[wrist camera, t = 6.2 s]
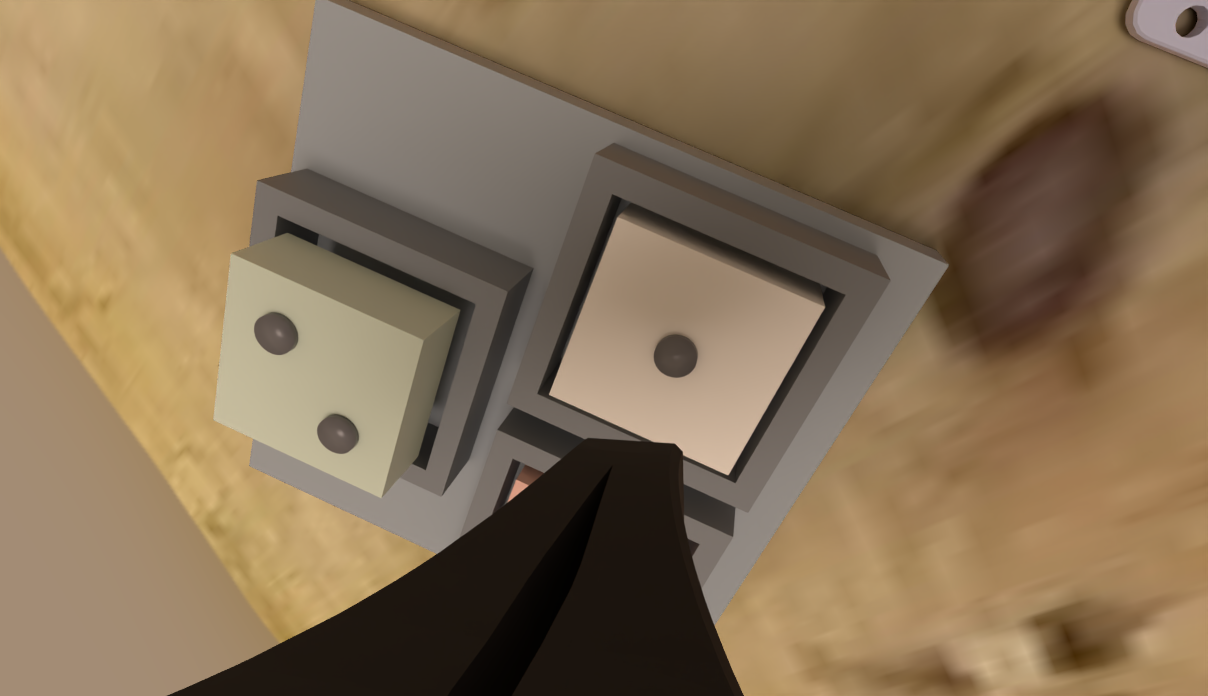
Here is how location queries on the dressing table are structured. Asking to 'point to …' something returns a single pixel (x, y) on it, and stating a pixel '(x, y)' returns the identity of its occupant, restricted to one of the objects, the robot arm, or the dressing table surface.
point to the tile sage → (330, 360)
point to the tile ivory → (685, 337)
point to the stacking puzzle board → (556, 275)
